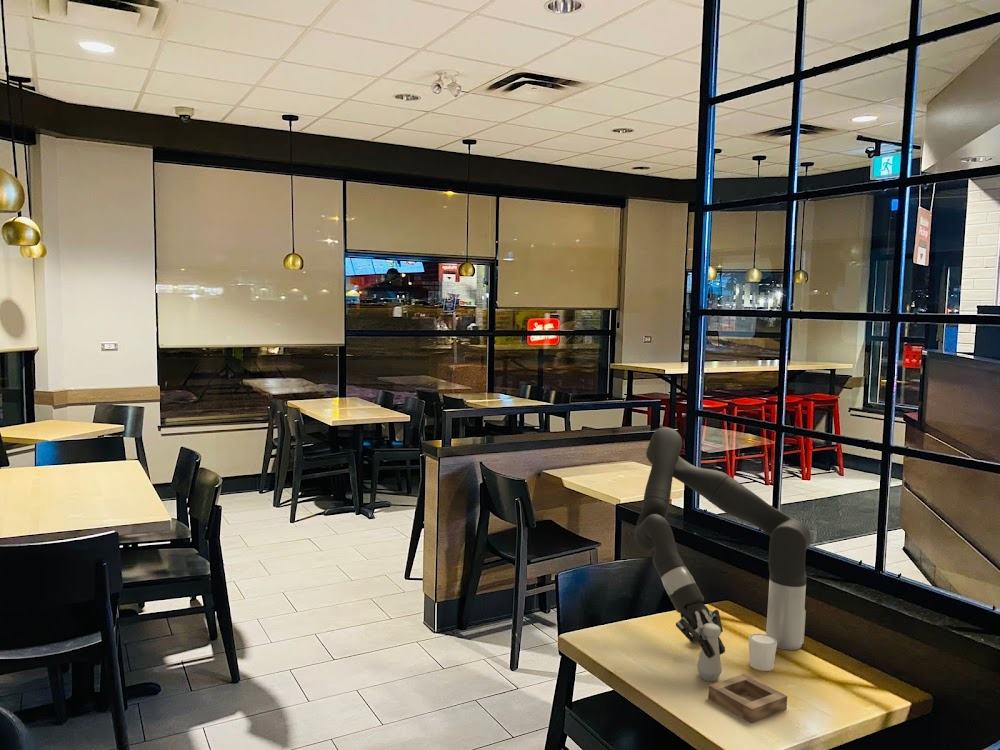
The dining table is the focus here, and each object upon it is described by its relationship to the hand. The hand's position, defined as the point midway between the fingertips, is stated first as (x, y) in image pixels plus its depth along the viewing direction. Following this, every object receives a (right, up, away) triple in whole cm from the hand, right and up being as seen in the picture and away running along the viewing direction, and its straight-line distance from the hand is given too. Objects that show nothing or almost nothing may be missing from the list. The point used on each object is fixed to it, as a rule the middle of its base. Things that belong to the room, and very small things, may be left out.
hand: (716, 654), depth 179 cm
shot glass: (+14, -7, +10) cm, 18 cm away
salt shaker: (-1, -7, +2) cm, 7 cm away
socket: (+4, -7, -10) cm, 13 cm away
